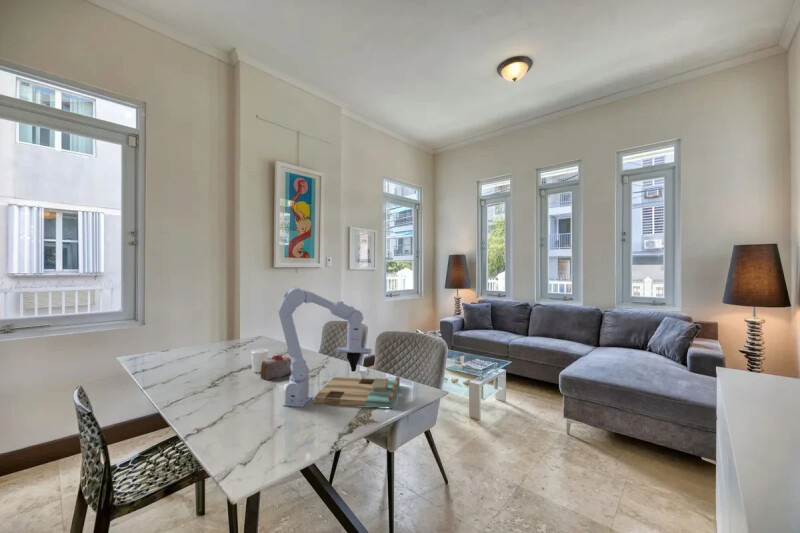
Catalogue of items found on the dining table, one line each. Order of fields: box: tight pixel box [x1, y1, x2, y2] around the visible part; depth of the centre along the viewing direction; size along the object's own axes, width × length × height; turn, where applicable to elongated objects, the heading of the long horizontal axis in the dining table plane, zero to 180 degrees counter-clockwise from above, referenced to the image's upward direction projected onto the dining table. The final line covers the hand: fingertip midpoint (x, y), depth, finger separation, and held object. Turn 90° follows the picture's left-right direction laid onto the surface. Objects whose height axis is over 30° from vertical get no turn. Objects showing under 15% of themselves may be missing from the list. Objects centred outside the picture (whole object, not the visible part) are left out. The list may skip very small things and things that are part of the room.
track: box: [313, 375, 401, 409], centre depth 135 cm, size 24×30×4 cm
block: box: [374, 376, 389, 392], centre depth 134 cm, size 5×5×4 cm
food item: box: [260, 355, 292, 381], centre depth 156 cm, size 14×8×10 cm, turn 141°
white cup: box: [250, 348, 269, 374], centre depth 163 cm, size 8×8×10 cm
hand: (353, 370), depth 136 cm, fingers closed
